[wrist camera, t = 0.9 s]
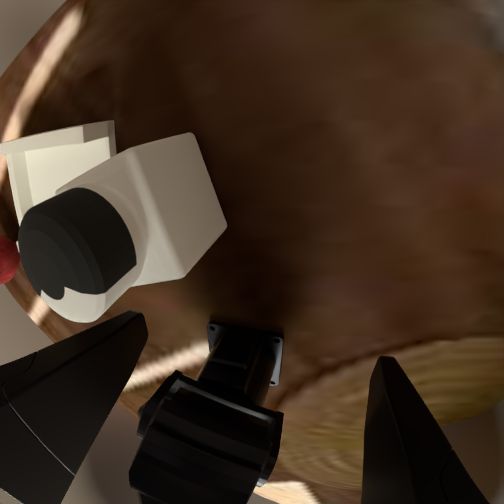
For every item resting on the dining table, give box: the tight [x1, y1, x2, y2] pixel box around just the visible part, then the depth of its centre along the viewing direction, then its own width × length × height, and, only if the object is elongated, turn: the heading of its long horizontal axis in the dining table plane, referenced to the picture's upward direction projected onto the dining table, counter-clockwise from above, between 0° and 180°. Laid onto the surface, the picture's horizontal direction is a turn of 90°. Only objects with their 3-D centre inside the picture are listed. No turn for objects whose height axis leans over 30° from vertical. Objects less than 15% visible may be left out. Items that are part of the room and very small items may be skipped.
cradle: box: [0, 120, 117, 251], centre depth 23 cm, size 11×13×4 cm
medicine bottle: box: [18, 133, 227, 322], centre depth 17 cm, size 7×7×12 cm
